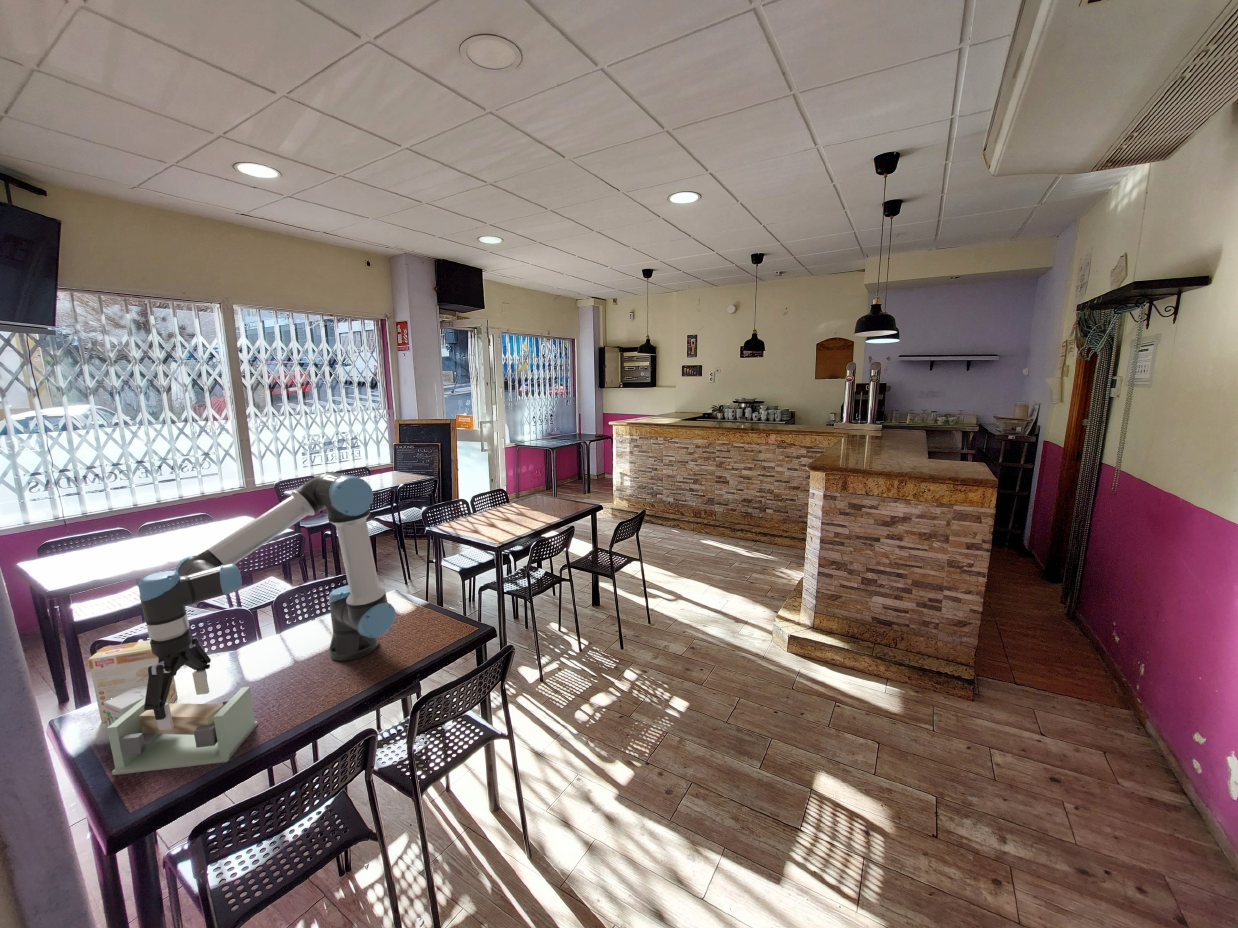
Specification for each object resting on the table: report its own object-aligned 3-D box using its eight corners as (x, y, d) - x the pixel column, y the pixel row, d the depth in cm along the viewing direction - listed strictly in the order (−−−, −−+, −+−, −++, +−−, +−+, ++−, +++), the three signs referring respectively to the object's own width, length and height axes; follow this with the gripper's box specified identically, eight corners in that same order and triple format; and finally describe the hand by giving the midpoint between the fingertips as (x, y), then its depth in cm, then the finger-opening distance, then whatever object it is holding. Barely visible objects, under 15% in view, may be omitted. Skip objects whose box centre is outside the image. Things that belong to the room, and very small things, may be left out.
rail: (226, 721, 130) (223, 704, 129) (210, 735, 125) (206, 717, 125) (161, 719, 131) (158, 702, 130) (142, 733, 126) (138, 715, 126)
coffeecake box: (178, 696, 151) (167, 636, 148) (167, 710, 144) (155, 648, 141) (115, 707, 146) (102, 646, 143) (100, 723, 139) (86, 659, 136)
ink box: (110, 741, 132) (102, 701, 130) (149, 720, 140) (142, 682, 138) (129, 749, 129) (121, 708, 127) (168, 727, 137) (161, 689, 135)
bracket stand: (257, 723, 138) (251, 684, 136) (226, 761, 125) (219, 718, 123) (156, 734, 134) (148, 694, 132) (112, 774, 121) (103, 730, 119)
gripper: (187, 611, 136) (201, 682, 140) (110, 663, 111) (130, 747, 115) (217, 609, 137) (231, 679, 141) (148, 660, 113) (166, 743, 116)
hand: (185, 710), depth 128 cm, fingers open, 13 cm apart
